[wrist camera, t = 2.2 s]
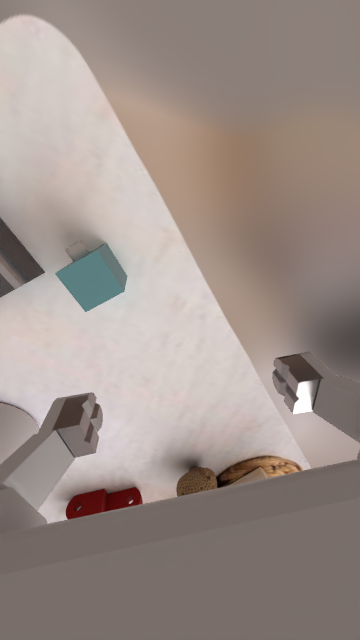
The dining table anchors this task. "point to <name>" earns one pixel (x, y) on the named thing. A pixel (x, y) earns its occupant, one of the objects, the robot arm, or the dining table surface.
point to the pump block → (92, 275)
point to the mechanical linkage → (102, 502)
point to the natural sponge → (196, 481)
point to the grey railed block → (14, 262)
